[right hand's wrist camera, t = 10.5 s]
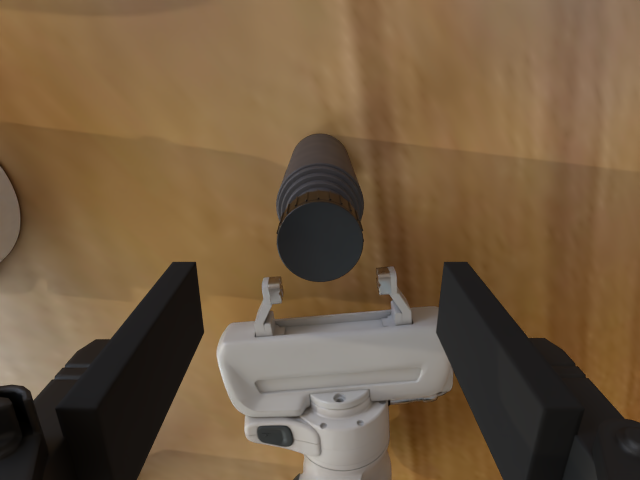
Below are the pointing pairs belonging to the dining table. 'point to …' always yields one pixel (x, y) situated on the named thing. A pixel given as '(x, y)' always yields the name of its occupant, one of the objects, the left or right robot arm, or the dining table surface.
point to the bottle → (320, 173)
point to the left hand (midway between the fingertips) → (328, 274)
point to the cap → (320, 236)
